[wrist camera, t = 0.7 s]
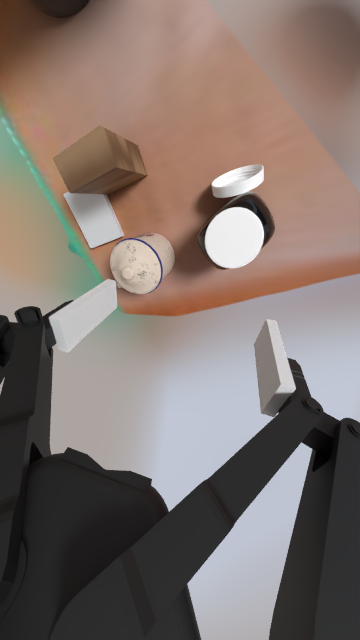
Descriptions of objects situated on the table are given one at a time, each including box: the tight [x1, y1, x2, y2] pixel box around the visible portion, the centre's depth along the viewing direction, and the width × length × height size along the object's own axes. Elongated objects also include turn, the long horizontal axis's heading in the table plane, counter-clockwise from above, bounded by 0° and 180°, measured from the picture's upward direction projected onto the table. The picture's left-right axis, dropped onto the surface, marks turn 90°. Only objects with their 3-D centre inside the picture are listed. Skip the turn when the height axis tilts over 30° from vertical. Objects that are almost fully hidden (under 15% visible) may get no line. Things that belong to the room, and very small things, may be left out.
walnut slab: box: [53, 126, 147, 195], centre depth 29 cm, size 4×8×10 cm, turn 110°
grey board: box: [63, 191, 124, 248], centre depth 37 cm, size 10×8×1 cm
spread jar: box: [198, 165, 275, 270], centre depth 27 cm, size 12×11×12 cm
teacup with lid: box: [110, 233, 175, 294], centre depth 35 cm, size 12×9×12 cm
